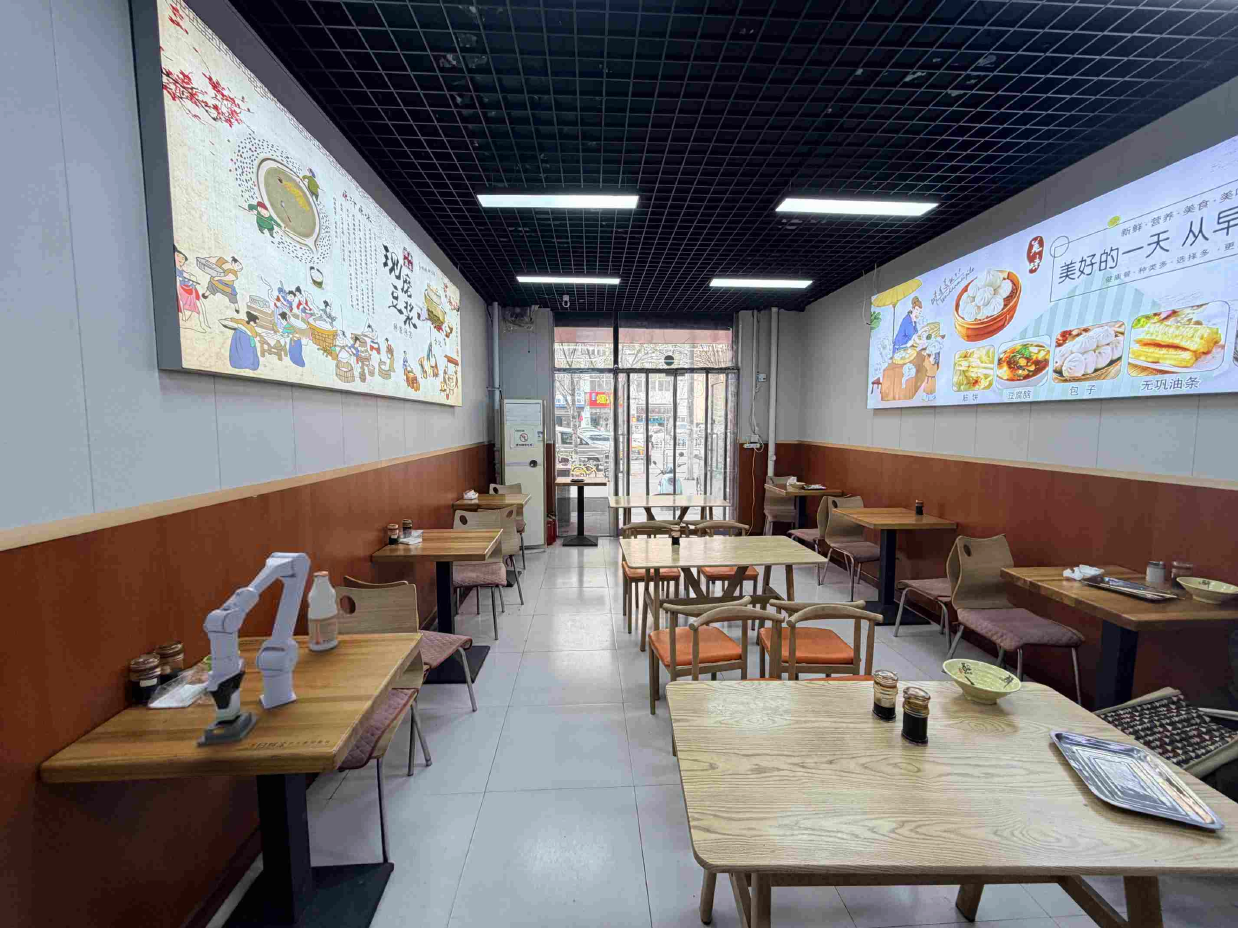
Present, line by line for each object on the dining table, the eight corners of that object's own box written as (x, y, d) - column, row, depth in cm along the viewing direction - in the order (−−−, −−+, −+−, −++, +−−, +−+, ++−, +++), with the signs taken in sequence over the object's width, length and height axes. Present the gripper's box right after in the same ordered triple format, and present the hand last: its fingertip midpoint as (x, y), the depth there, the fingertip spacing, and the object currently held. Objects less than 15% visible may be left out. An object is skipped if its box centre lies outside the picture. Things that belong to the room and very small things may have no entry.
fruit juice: (303, 651, 189) (300, 576, 188) (319, 640, 199) (316, 569, 197) (329, 651, 189) (326, 576, 187) (343, 640, 199) (340, 569, 197)
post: (223, 712, 139) (222, 689, 139) (240, 710, 140) (239, 687, 140) (215, 721, 135) (214, 697, 135) (233, 719, 136) (231, 695, 136)
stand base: (218, 724, 142) (217, 712, 141) (258, 719, 144) (258, 707, 144) (196, 746, 132) (196, 732, 132) (241, 740, 134) (240, 727, 134)
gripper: (222, 644, 143) (225, 692, 144) (191, 668, 129) (194, 720, 129) (251, 642, 144) (253, 689, 145) (223, 665, 130) (226, 717, 131)
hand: (227, 703), depth 137 cm, fingers closed on post, 4 cm apart
